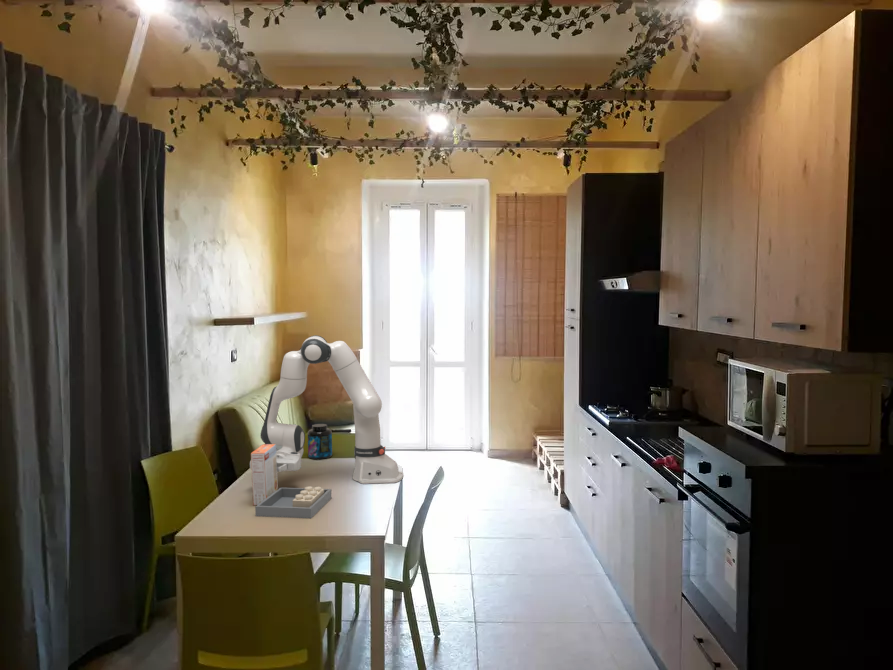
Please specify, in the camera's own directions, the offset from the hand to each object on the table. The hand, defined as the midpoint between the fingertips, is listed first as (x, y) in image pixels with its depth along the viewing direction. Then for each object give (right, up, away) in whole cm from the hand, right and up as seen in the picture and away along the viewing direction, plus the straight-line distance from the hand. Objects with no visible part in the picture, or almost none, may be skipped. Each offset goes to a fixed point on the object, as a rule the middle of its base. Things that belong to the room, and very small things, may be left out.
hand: (267, 469), depth 237 cm
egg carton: (+20, -11, -14) cm, 27 cm away
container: (+8, -8, +63) cm, 64 cm away
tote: (+15, -12, -13) cm, 23 cm away
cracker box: (0, -12, -2) cm, 12 cm away
